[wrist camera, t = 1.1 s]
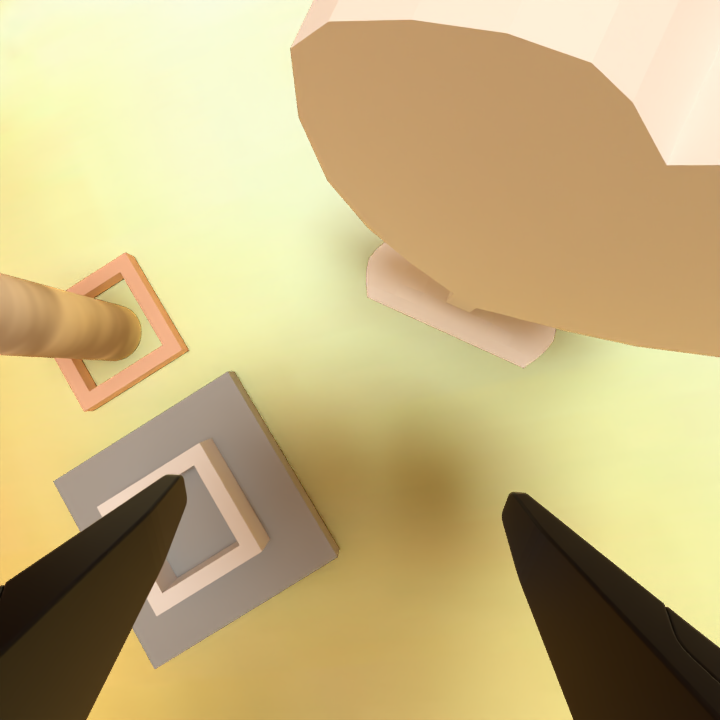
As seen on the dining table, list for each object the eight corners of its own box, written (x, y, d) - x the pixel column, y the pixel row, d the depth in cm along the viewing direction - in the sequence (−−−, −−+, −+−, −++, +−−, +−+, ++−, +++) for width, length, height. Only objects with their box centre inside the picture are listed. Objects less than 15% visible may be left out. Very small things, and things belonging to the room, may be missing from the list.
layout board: (164, 656, 22) (138, 691, 20) (66, 476, 23) (29, 489, 21) (339, 549, 22) (334, 571, 20) (234, 371, 23) (217, 371, 21)
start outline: (93, 410, 23) (84, 411, 23) (41, 315, 24) (29, 313, 23) (188, 350, 23) (182, 349, 23) (133, 256, 24) (125, 252, 23)
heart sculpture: (582, 312, 22) (1460, 50, 4) (551, 380, 22) (1315, 408, 4) (372, 220, 23) (359, -312, 5) (341, 285, 23) (219, -29, 5)
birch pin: (104, 371, 24) (-177, 368, 12) (77, 324, 24) (-224, 273, 12) (151, 341, 24) (-82, 307, 12) (124, 294, 24) (-132, 213, 12)
